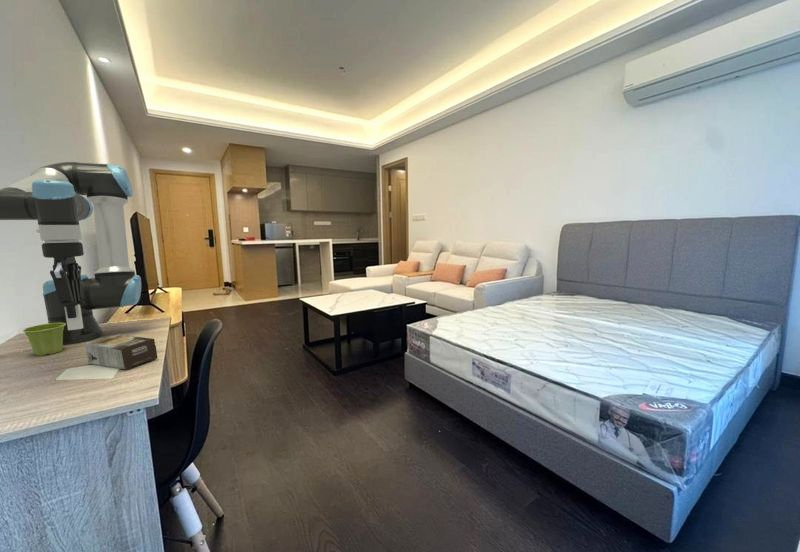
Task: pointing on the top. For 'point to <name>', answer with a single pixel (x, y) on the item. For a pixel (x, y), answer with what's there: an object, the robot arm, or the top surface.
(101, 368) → the cream flat rectangular sheet
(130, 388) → the top surface
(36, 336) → the plant pot
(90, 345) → the coffee box
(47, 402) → the top surface
